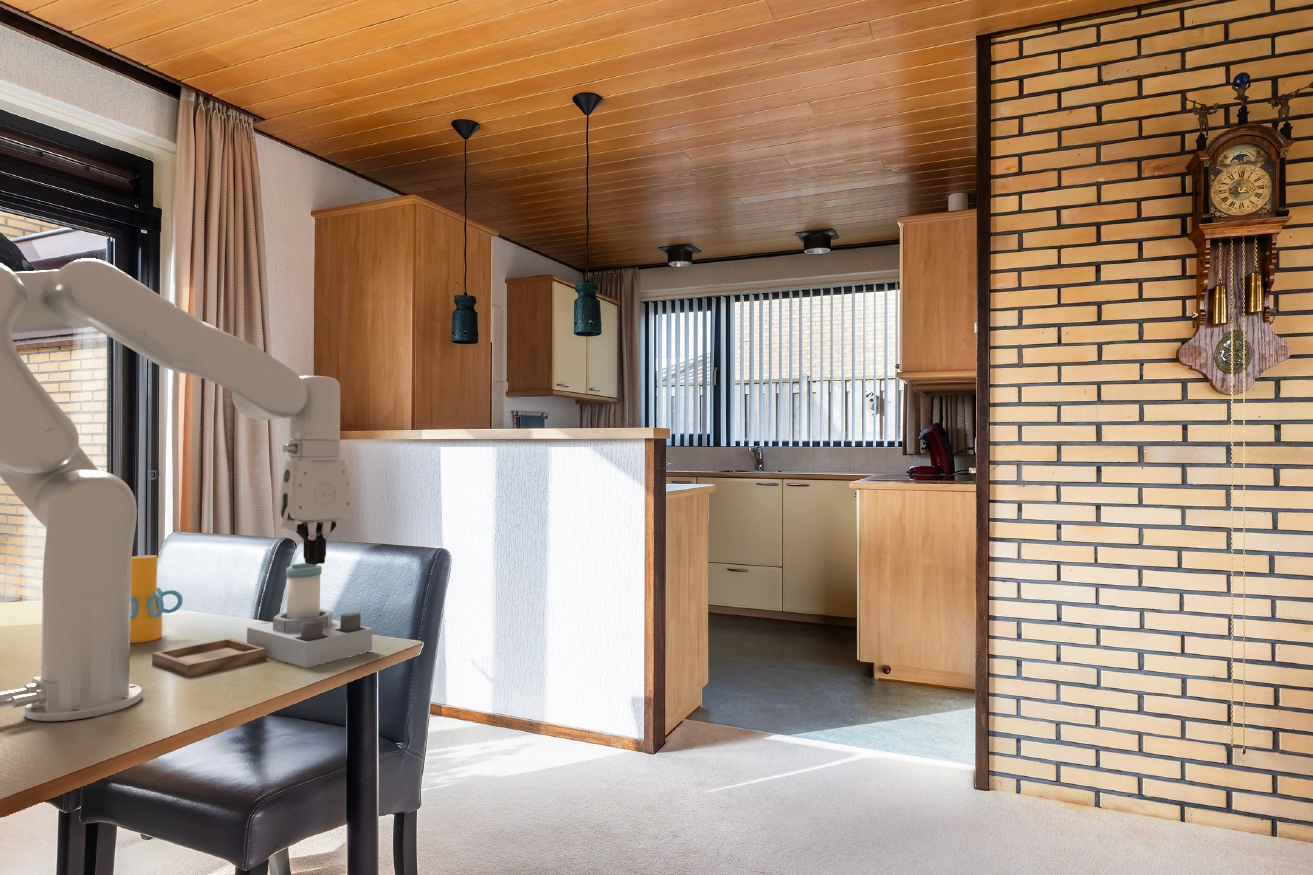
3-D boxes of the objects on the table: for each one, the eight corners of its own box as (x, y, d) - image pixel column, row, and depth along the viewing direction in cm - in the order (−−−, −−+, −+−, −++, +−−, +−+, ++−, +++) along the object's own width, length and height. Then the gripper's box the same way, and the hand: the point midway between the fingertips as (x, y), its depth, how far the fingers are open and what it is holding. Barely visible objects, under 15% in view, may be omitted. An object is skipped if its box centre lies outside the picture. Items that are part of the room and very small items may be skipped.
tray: (187, 676, 114) (187, 665, 114) (152, 663, 121) (152, 652, 121) (265, 659, 124) (266, 648, 124) (229, 648, 131) (229, 637, 131)
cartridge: (296, 631, 127) (297, 566, 127) (278, 627, 130) (279, 563, 130) (327, 625, 131) (328, 562, 131) (309, 621, 134) (310, 560, 135)
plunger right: (347, 638, 126) (347, 617, 126) (336, 635, 128) (336, 614, 128) (364, 634, 129) (364, 614, 129) (353, 631, 131) (353, 611, 131)
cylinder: (91, 641, 135) (93, 557, 135) (153, 629, 144) (154, 551, 144) (129, 650, 129) (131, 562, 129) (191, 637, 138) (192, 555, 139)
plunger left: (308, 646, 121) (308, 625, 121) (297, 643, 122) (297, 622, 122) (326, 642, 123) (326, 621, 123) (315, 640, 125) (315, 618, 125)
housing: (305, 667, 119) (306, 630, 119) (246, 650, 129) (247, 615, 130) (371, 651, 129) (372, 616, 129) (312, 636, 139) (312, 604, 139)
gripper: (283, 451, 115) (282, 571, 115) (369, 451, 128) (368, 559, 127) (257, 451, 119) (257, 567, 119) (343, 451, 132) (342, 556, 132)
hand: (314, 563), depth 123 cm, fingers closed
